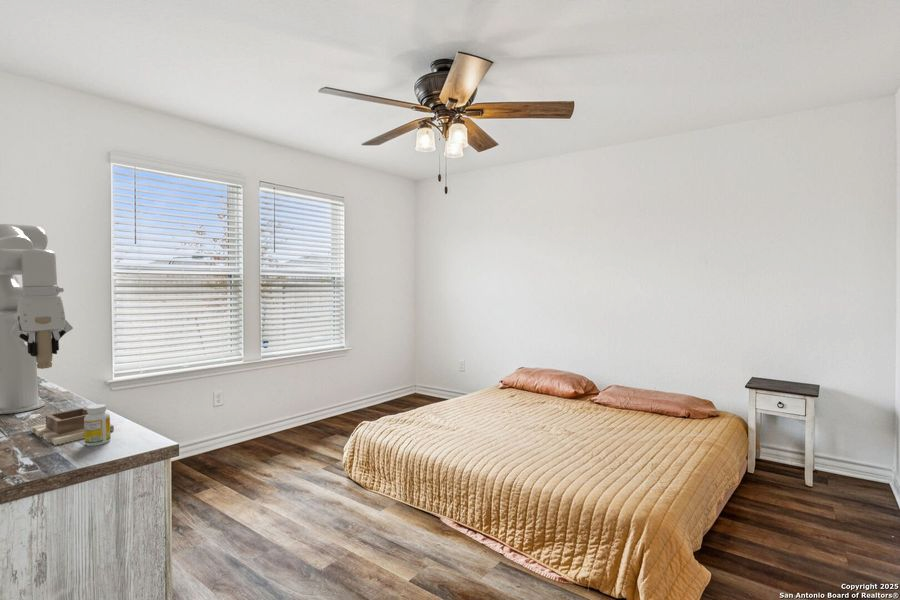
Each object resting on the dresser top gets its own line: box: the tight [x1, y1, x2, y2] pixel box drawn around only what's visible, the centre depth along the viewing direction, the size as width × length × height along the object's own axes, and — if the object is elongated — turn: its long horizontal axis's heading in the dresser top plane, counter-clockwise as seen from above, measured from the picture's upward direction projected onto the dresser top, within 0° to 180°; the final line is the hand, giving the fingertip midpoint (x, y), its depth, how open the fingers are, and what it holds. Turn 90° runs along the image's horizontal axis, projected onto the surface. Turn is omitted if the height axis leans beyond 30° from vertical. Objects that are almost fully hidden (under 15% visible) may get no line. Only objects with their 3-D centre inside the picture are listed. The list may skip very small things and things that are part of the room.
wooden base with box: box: [31, 406, 115, 446], centre depth 127 cm, size 18×13×5 cm
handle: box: [34, 317, 54, 370], centre depth 133 cm, size 5×6×15 cm
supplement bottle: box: [84, 403, 111, 447], centre depth 119 cm, size 5×5×10 cm
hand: (43, 354), depth 134 cm, fingers closed on handle, 3 cm apart
